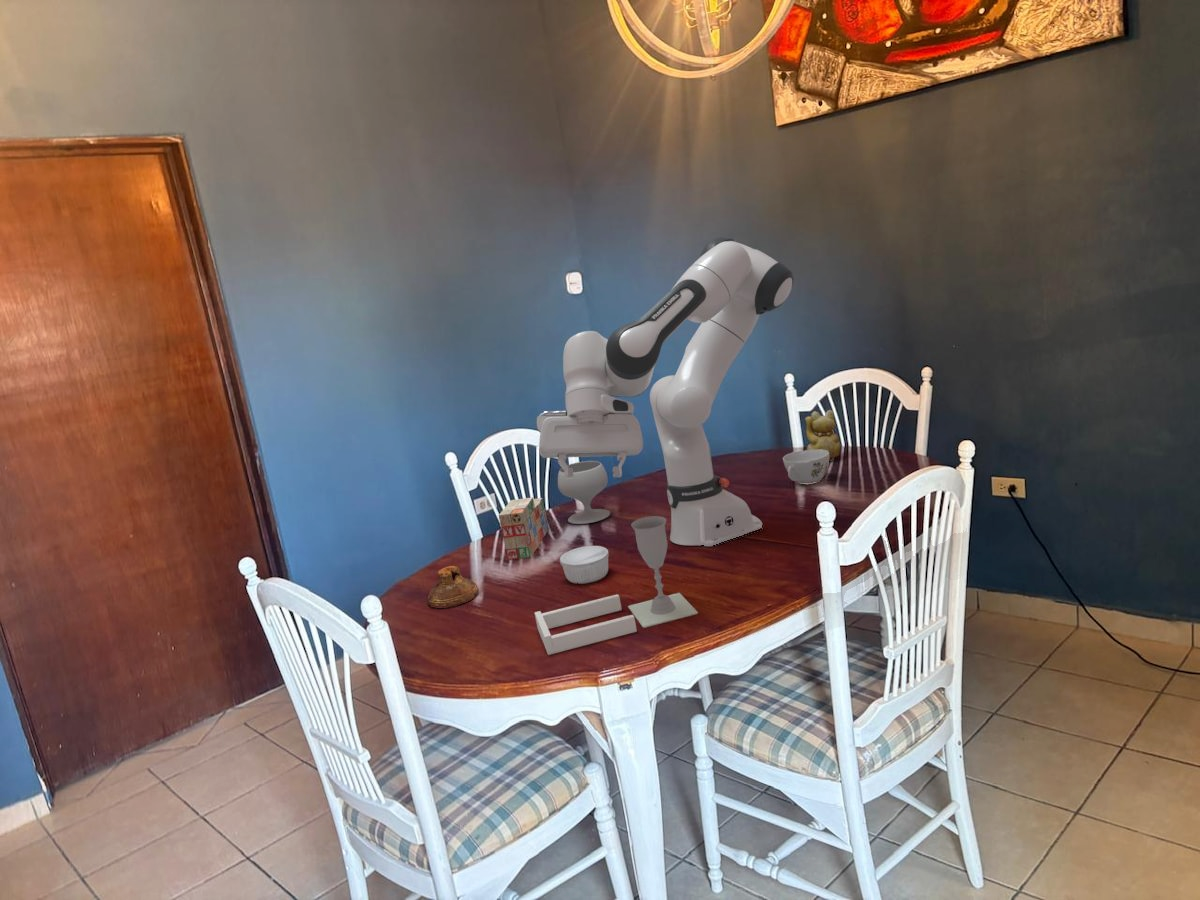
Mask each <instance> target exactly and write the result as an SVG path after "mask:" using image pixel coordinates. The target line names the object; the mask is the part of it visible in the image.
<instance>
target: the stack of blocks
mask: <svg viewBox="0 0 1200 900" xmlns="http://www.w3.org/2000/svg"><path fill="white" fill-rule="evenodd" d="M546 512H547V511H546V508H545V504H544V500H543V497H540V498H534V497H526V498H525V497H524V498H519V499H517V498H516V499H511V500H510V501H508V503H507V504H506V506H505V507H504V508H503V509H502V510H501V512H500V513H499V514H498V519H499V524H500V530H501V534H502V539H503V543H504V548H505V553H506V554H505V555H506V559H507V561H510V560H519V559H520V560H521V559H527V558H530V559H531V558H532V556H533V555H534V553H535V552H536V551H537V550H538V547H539V546H540V545H541V542H542V540H543V539H544V537H546V534H547V533H548V531H549V530H550V529H549V528H550V527H549V523H548V517H547V513H546Z"/></svg>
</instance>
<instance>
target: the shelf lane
mask: <svg viewBox="0 0 1200 900" xmlns="http://www.w3.org/2000/svg"><path fill="white" fill-rule="evenodd" d="M620 598H621V597H620V595H619V594H617V593H616V594H613V595H610V596H609V595H608V596H606V597H601V598H598V599H593V600H589V601H586V602H585V601H584V602H581V603H578V604H575V605H574V604H573V605H570V606H566V607H562V608H558V609H554V610H550V611H546V612H543V613H542V612H541V610H539V611H535V612H534V616H535V622H536V627H537V630H538V634H539V636H540V639H541V641H542V644H543V646H544V648H545V650H546V653H547V655H548V656H550V655H554V654H558V653H561V652H562V653H563V652H565V651H568V650H572V649H576V648H580V647H583V646H584V647H585V646H587V645H591V644H595V643H599V642H603V641H606V640H610V639H614V638H618V637H621V636H625V635H628V634H629V635H630V634H634V633H636V632H638V631H637V625H636V620H635V619H636V617H635V616H634V615H633V614H630V615H625V616H620V617H617V618H614V619H611V620H606V621H602V622H599V623H598V622H597V623H595V624H591V625H586V626H583V627H580V628H575V629H573V630H572V629H571V630H568V631H564V632H560V633H557V634H553V635H552V634H551V633H550V629H553V628H557V627H561V626H562V627H563V626H566V625H569V624H573V623H577V622H581V621H584V620H588V619H592V618H596V617H599V616H603V615H604V616H605V615H607V614H608V615H609V614H611V613H616V612H619V611H620V612H621V611H623V610H622V603H621V599H620Z"/></svg>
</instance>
